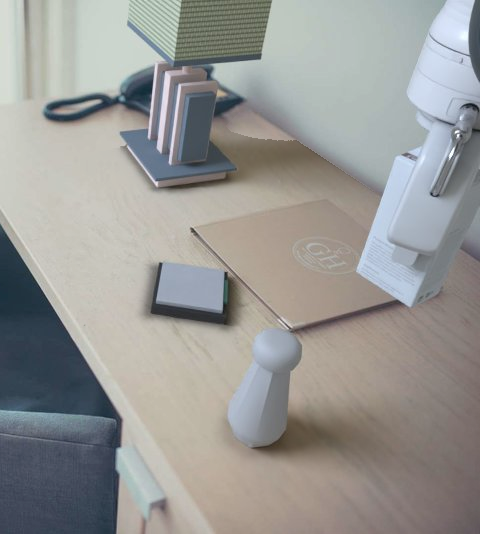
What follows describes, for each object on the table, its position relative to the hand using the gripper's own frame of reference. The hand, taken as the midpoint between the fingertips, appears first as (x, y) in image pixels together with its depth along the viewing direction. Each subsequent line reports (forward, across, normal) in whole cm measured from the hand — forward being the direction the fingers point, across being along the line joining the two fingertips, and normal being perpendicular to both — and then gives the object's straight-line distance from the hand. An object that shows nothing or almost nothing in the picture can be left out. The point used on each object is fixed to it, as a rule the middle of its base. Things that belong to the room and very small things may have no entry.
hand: (409, 239), depth 55 cm
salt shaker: (+22, -8, +6) cm, 24 cm away
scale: (+22, +8, +20) cm, 31 cm away
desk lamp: (+23, +38, +37) cm, 58 cm away
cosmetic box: (+5, 0, 0) cm, 5 cm away
